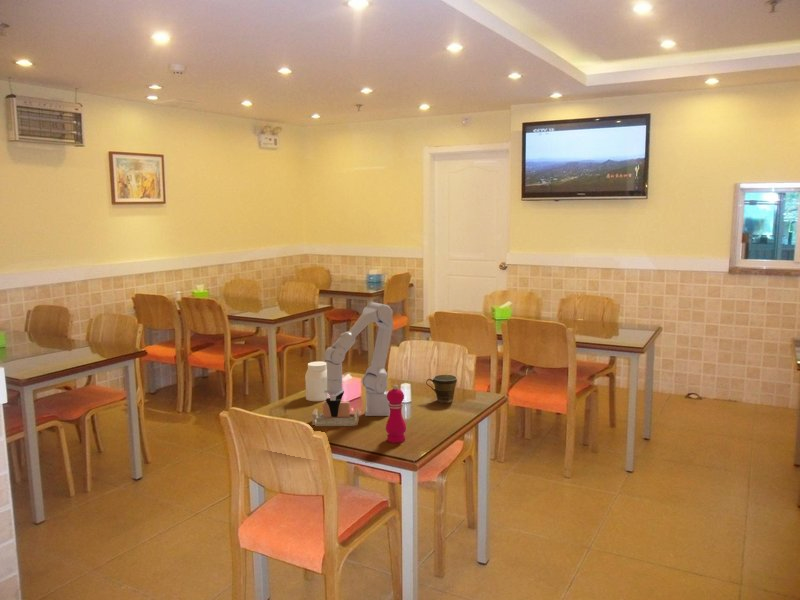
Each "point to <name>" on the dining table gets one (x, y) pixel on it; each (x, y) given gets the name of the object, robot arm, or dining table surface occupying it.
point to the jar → (316, 381)
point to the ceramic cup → (444, 387)
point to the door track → (335, 419)
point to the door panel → (342, 411)
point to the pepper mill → (395, 416)
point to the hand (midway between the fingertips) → (335, 413)
